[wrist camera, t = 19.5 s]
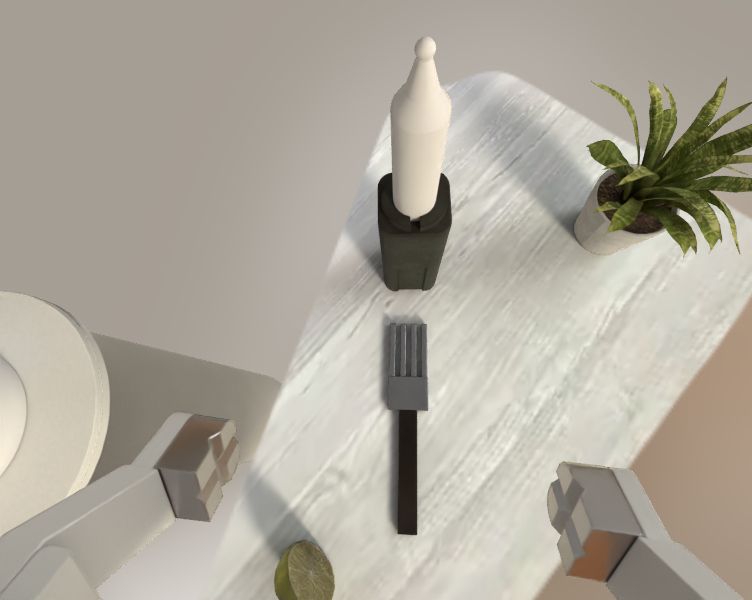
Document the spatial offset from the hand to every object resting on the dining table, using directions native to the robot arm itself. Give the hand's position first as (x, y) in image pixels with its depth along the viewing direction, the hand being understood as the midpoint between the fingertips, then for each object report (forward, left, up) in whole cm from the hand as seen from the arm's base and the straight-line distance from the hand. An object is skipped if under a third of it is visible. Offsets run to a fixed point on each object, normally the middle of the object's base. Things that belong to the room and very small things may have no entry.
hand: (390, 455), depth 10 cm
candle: (+1, +15, -26) cm, 30 cm away
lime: (-7, -12, -26) cm, 30 cm away
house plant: (+19, +19, -26) cm, 38 cm away
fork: (+1, 0, -26) cm, 26 cm away
